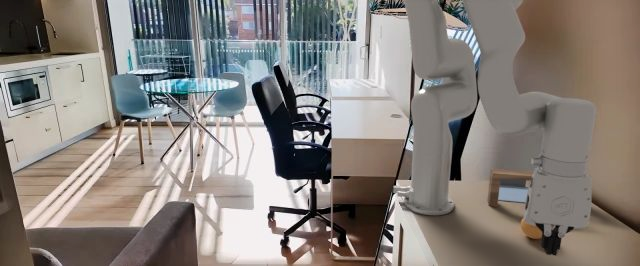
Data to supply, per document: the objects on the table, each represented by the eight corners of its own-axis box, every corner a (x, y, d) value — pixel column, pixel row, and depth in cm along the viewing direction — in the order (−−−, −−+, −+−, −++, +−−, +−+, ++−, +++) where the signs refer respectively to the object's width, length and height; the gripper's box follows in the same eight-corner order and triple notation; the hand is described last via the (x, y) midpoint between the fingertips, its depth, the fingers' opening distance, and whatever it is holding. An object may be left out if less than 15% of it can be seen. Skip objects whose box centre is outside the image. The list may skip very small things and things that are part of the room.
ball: (522, 242, 85) (525, 219, 84) (516, 229, 90) (520, 207, 89) (550, 245, 84) (554, 222, 82) (543, 231, 89) (546, 210, 87)
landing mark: (495, 200, 104) (495, 199, 104) (489, 184, 113) (489, 184, 113) (536, 203, 102) (536, 203, 102) (527, 187, 111) (527, 187, 111)
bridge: (550, 211, 98) (556, 177, 95) (488, 205, 101) (492, 173, 99) (547, 206, 101) (552, 173, 98) (487, 200, 104) (490, 168, 101)
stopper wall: (491, 184, 114) (492, 176, 113) (491, 183, 114) (492, 175, 114) (525, 187, 111) (526, 179, 111) (524, 186, 112) (525, 178, 111)
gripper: (523, 170, 71) (512, 257, 76) (618, 175, 67) (600, 267, 72) (514, 156, 78) (505, 237, 83) (599, 160, 74) (584, 245, 79)
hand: (549, 251), depth 77 cm, fingers closed
